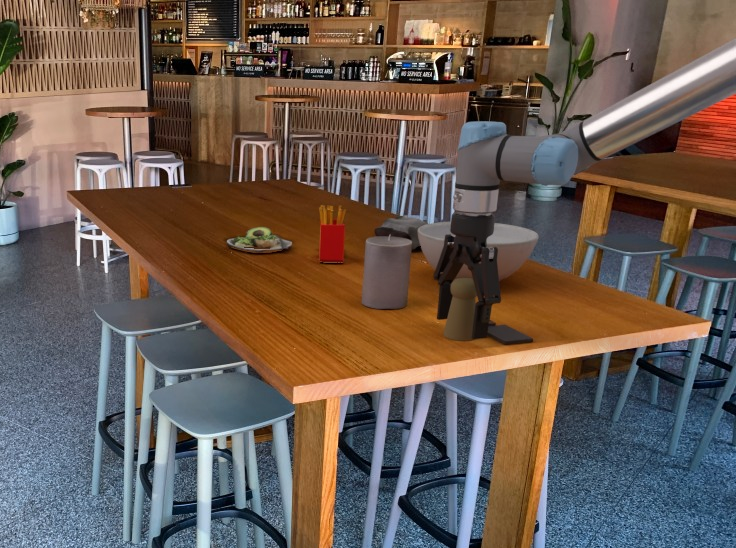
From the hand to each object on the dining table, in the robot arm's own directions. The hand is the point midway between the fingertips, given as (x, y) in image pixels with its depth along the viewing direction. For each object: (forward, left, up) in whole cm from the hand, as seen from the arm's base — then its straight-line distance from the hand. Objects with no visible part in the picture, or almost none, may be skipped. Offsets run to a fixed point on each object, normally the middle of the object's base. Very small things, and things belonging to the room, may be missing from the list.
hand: (460, 328), depth 149 cm
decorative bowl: (+35, -24, -2) cm, 42 cm away
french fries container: (+66, -1, -2) cm, 66 cm away
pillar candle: (+24, +4, -2) cm, 24 cm away
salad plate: (+87, +12, -2) cm, 88 cm away
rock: (+76, -27, -2) cm, 81 cm away
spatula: (+2, -8, -1) cm, 8 cm away
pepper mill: (0, 0, -2) cm, 2 cm away
